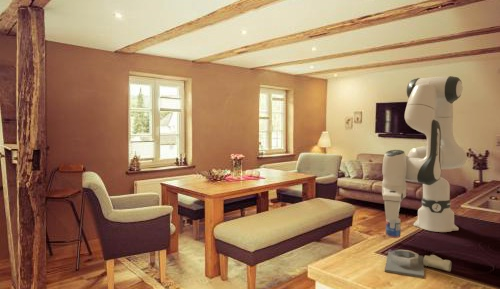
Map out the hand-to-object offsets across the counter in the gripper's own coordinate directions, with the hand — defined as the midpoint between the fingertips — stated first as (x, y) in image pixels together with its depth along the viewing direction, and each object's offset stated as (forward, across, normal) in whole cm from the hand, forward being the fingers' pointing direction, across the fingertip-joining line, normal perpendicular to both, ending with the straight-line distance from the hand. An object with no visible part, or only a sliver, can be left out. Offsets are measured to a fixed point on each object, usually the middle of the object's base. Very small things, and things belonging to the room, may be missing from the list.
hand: (393, 225), depth 138 cm
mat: (+9, +15, +5) cm, 18 cm away
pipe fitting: (+9, +12, +16) cm, 22 cm away
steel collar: (+9, +15, +5) cm, 18 cm away
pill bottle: (+5, 0, 0) cm, 5 cm away
